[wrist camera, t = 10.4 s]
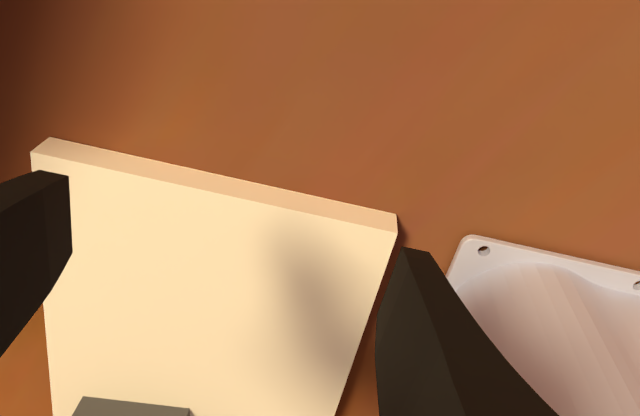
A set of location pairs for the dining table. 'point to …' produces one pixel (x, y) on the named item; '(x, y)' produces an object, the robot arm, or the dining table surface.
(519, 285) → the robot arm
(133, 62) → the dining table surface
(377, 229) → the shelf board
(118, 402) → the grey square frame
